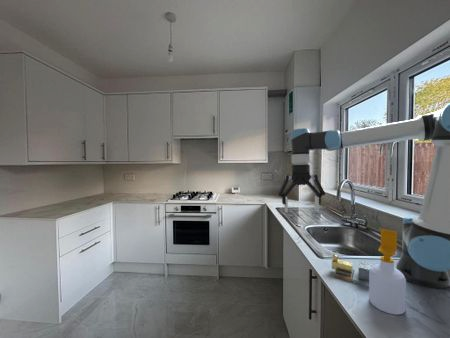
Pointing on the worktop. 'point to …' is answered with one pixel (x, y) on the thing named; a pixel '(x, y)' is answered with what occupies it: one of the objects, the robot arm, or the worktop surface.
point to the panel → (353, 278)
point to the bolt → (341, 265)
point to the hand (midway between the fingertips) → (301, 211)
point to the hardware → (363, 271)
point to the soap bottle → (387, 278)
